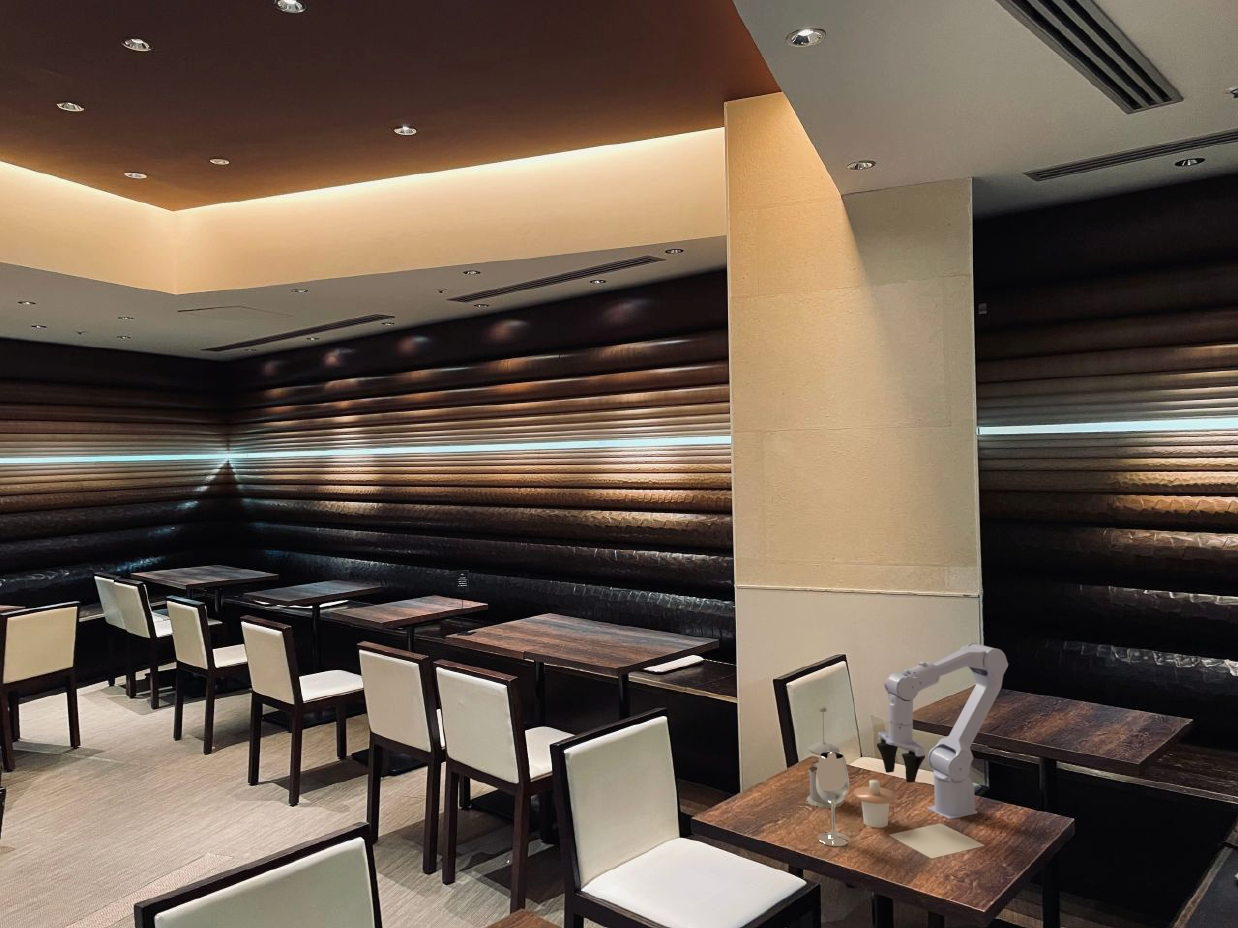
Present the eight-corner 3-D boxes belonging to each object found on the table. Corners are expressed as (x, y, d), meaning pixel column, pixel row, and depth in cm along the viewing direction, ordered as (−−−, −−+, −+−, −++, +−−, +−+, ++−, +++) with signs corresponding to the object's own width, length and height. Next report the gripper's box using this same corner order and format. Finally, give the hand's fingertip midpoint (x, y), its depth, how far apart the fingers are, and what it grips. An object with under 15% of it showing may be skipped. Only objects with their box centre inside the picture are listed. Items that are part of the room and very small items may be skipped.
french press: (798, 797, 227) (796, 704, 227) (833, 790, 231) (831, 699, 232) (821, 810, 218) (819, 713, 218) (857, 802, 222) (855, 707, 223)
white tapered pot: (891, 830, 204) (891, 801, 204) (862, 828, 206) (861, 800, 206) (888, 819, 211) (888, 791, 211) (860, 817, 212) (859, 790, 213)
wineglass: (832, 849, 194) (830, 762, 195) (810, 837, 201) (808, 753, 202) (857, 842, 198) (855, 756, 198) (835, 830, 205) (833, 747, 205)
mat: (940, 824, 207) (940, 823, 207) (985, 846, 194) (985, 845, 194) (888, 836, 201) (888, 834, 201) (931, 860, 188) (931, 858, 188)
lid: (877, 786, 215) (877, 772, 215) (904, 799, 206) (904, 784, 206) (845, 792, 211) (845, 777, 211) (871, 806, 202) (871, 791, 202)
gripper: (869, 716, 217) (868, 769, 217) (908, 731, 204) (907, 788, 204) (890, 714, 220) (889, 766, 220) (931, 728, 207) (930, 784, 206)
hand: (900, 776), depth 212 cm, fingers open, 7 cm apart
